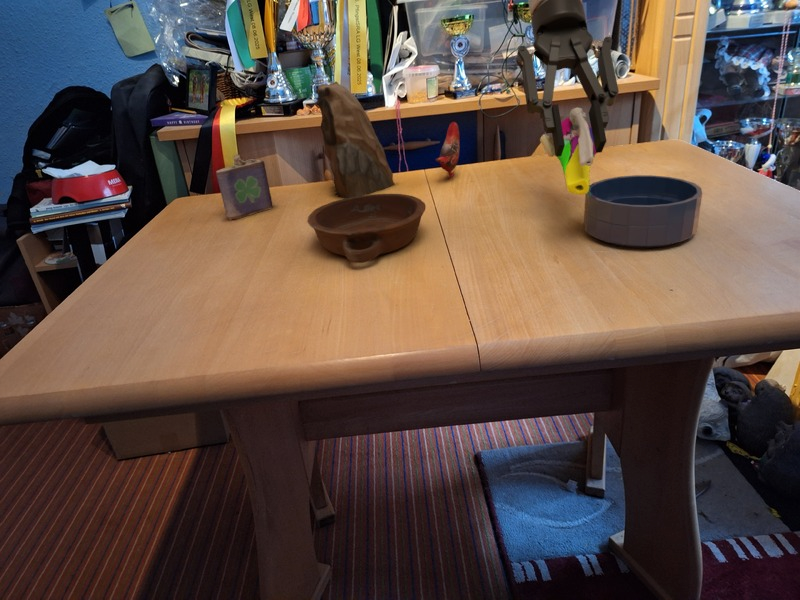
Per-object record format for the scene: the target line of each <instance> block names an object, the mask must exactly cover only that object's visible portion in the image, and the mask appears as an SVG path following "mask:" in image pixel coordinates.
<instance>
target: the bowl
mask: <svg viewBox="0 0 800 600" xmlns="http://www.w3.org/2000/svg"><path fill="white" fill-rule="evenodd" d="M702 198H703V190H702V187H701V186H699V185H698V184H696V183H694V182H692V181H689V180H686V179H682V178H677V177H671V176H666V175H665V176H663V175H652V174H650V175H649V174H648V175H647V174H645V175H644V174H638V175H636V174H634V175H622V176H615V177H609V178H603V179H601V180H600V179H599V180H598V181H594V182H592V183H591V184H590V185H589V190H588V192H587V193H586V194H584V210H583V211H584V213H583V228H584V230H585V232H586V233H587V234H589V235H590V236H592V237H593V238H595V239H597V240H600V241H602V242H605V243H607V244H611V245H614V246H618V247H619V246H620V247H626V248H634V249H650V248H660V247H666V246H670V245H674V244H676V243H681V242H684V241H685V240H688V239H691V238H692V237H693V236H694V235H695V234H696V233H697V231H698V227H699V226H698V225H699V221H700V220H699V219H700V212H701V206H702Z"/></svg>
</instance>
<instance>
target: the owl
mask: <svg viewBox="0 0 800 600" xmlns="http://www.w3.org/2000/svg"><path fill="white" fill-rule="evenodd" d="M315 93H316V94H317V100H316V101H315V102H316V104H317V106H318V107H319V110H320V113H321V122H320V131H321V133H322V137H323V146H324V148H323V149H324V155H325V156H326V158H327V159H328V161H329V165H330V166H329V167H330V170H331V173H332V176H333V185H334V189H335V190H334V192H335V193H334V196H337V197H339V198H343V199H347V198H352V197H358V196H365V195H371V193H374V192H377V191H381V190H384V189H387V188H389V187H392V186H395V182H394V180H393V178H394V174H393V172H392V170H391V168H390V165H389V163H388V160H387V157H386V152H385V150H384V147H383V145H382V144H381V142H380V140H379V138H378V136H377V135H376V132H375V129H374V128H373V125H372V122H371V120H370V117H369V116H368V114H367V113H366V111H365V109H364V107H363V105H362V104H361V102H360V101H359V100H358V98H357V97H356V96H355V95H354V94H353V92H351V91H350V90H349V89H348V88H346V86H344V85H342V84H340V83H339V82H338V81H334V82H333V83H330V84H328V83H322V84H320V85H319V86H318V87H317V88H316V90H315Z"/></svg>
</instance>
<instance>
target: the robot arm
mask: <svg viewBox="0 0 800 600" xmlns="http://www.w3.org/2000/svg"><path fill="white" fill-rule="evenodd" d="M527 1H528V7H529V14H530V19H531V27H532V28H531V29H532V34H533V40H534V41H533V43H532V45H531V46H528V47H526V46H525V45H520V46H519V47H518V48H517V54H516V61H515V62H516V64H517V66H518V67H519V69H520V71H521V75H522V81H523V90H524V95H525V102H526V103H525V104H526V110H527V112H528V113H529V114H534V113H537V114H539V118H540V119H541V120H542V124H543V131H544V133H545V135H547V134H550V133H552V137H553V143H554V149H555V156H554V157H556V158H557V156H561V155H562V152H563V149H564V146H565V143H564V137H563V131H562V125H561V119H560V117H561V115H560V114H561V113H560V107H559V103H557V104H553V98H554V91H555V85H556V84H555V83H556V75H557V71H561V70H563V69H566V70H567V69H568V70H569V69H570V70H571V71H572V72H573V74H574V76H576V77H577V79H578V81H579V83H580V85H581V87H582V89H583V91H584V93H585V95H586V97H587V99H588V101H589V103H590V108H589V111H588V119H589V122H590V128H591V129H592V134H593V140H594V145H595V150H596V154H599V153H603V150H604V147H605V145H606V143H607V135H606V131H605V129H606V128H607V126H608V124H609V121H610V116H609V110H608V107H611V106H613V105H614V104H615V102H616V100H617V97H618V95H619V92H620V91H619V86H618V82H617V81H618V80H617V76H616V72H615V67H614V62H613V57H612V53H611V49H612V44H613V38H612V37H611V36H605V37H604V38H603V40H600V39H594V38H593V35H592V34H591V33H590V32H589V30H588V23H587V19H586V13H585V8H584V5H583V0H527ZM590 50H591V51H592V52H593V55H594V58H595V59H597V68H598V69H597V70H598V73H599V79H600V81H599V79H598V77H597V75H596V73H595V71H594V69H593V67H592V65H591V63H590V61H589V56H588V53H589V51H590ZM535 57H536V58H537V59H539V61H540V62H542V63H543V64H544V65H545V66H546V69H545V78H544V87H543V93H542V98H539V93H538V87H537V79H536V74H535V68H534V66H535V65H534V60H535Z"/></svg>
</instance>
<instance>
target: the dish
mask: <svg viewBox="0 0 800 600" xmlns="http://www.w3.org/2000/svg"><path fill="white" fill-rule="evenodd" d="M426 206H427V205H426V203H425V202H424V201H423V200H422V199H421V198H419V197H417V196H414V195H409V194H404V193H403V194H402V193H375V194H365V195H362V196H358V197H352V198H343V199H337V200H334V201H331V202H329V203H326V204H323V205H321V206H319V207H316V208H315V209H313V211H312V212H311V213H310V214H309V216H308V217H307V223H308V225H309V226H310V227H311V228H312V229H313V231H314V233H315V234H316V237H317V238H318V240H319V242H320V244H321V245H322V246H323V247H324V248H325V249H326V250H327V251H328V252H331V253H332V254H333V253H334V254H336V255H339V256H342V257H343V256H344V257H346V258H347V260H348V261H350V262H351V263H355V264H356V263H357V264H359V263H366V262H369V261H372V260H374V259H376V258H377V257H378V256H379V255H384V254H387V253H390V252H393V251H396V250H399V249H401V248H403V247H404V246H406V245H408V244H410V242H411V241H412V240H414V238H415V237H416V235H417V233H418V230H419V226H420V223H421V219H422V216H424V213H425V211H426V208H427V207H426Z"/></svg>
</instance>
